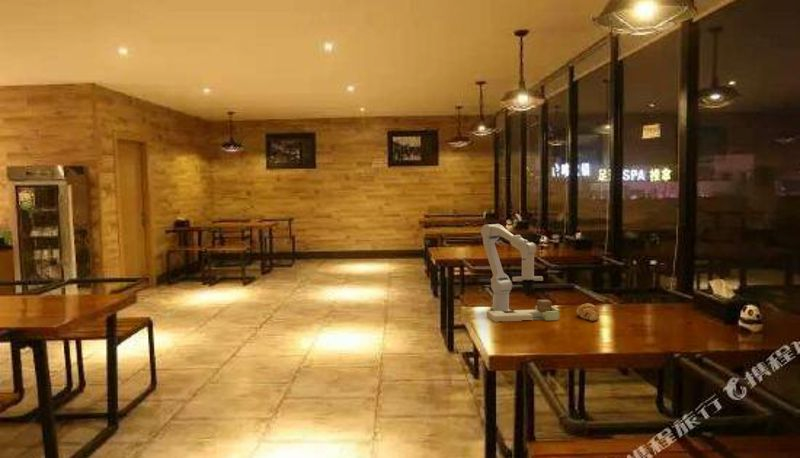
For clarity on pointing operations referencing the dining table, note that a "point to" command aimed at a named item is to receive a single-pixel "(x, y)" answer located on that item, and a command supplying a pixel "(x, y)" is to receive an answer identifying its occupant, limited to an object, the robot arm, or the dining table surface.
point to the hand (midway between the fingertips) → (527, 295)
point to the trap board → (524, 315)
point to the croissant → (588, 312)
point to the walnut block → (543, 305)
